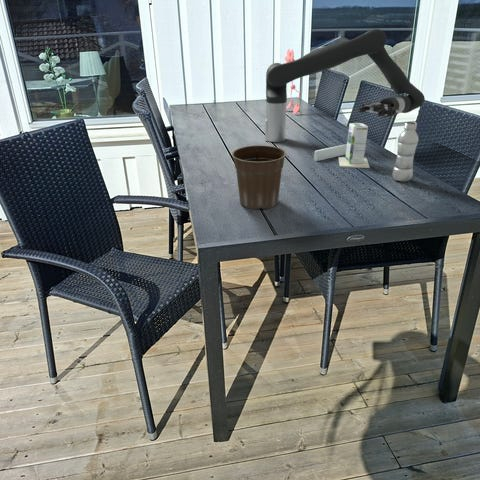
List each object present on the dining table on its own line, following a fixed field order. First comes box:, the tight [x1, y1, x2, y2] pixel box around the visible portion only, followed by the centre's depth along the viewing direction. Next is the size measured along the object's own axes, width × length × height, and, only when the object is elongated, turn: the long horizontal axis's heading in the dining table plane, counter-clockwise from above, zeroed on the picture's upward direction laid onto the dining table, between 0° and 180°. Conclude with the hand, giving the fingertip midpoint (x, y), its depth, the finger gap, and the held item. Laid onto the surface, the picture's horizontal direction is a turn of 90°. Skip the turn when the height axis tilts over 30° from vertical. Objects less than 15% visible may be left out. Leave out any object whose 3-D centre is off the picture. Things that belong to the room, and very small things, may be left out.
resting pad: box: [337, 156, 370, 169], centre depth 168 cm, size 11×11×1 cm
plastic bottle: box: [392, 121, 419, 182], centre depth 145 cm, size 6×7×20 cm
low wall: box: [313, 143, 347, 162], centre depth 175 cm, size 22×1×4 cm, turn 122°
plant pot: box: [231, 144, 287, 210], centre depth 131 cm, size 16×16×16 cm
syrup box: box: [344, 122, 369, 164], centre depth 164 cm, size 6×6×14 cm
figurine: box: [284, 48, 302, 118], centre depth 242 cm, size 15×26×35 cm, turn 16°
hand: (369, 111), depth 169 cm, fingers open, 8 cm apart
